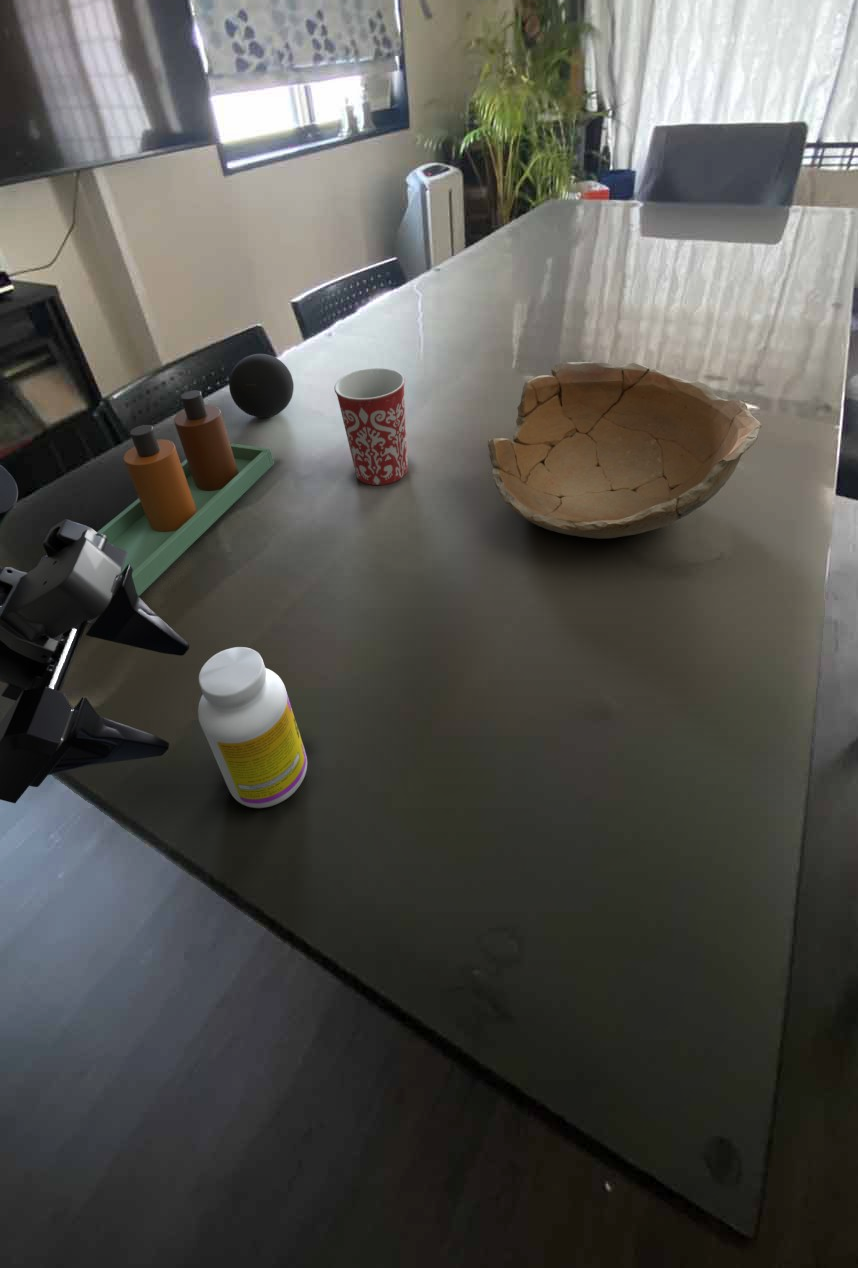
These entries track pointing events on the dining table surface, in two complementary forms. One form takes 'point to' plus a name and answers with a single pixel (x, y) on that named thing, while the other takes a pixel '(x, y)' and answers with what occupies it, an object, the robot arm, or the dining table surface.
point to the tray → (162, 548)
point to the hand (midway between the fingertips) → (177, 696)
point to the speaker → (261, 385)
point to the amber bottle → (159, 480)
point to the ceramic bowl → (617, 449)
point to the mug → (375, 423)
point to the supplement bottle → (251, 728)
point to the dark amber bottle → (205, 443)
